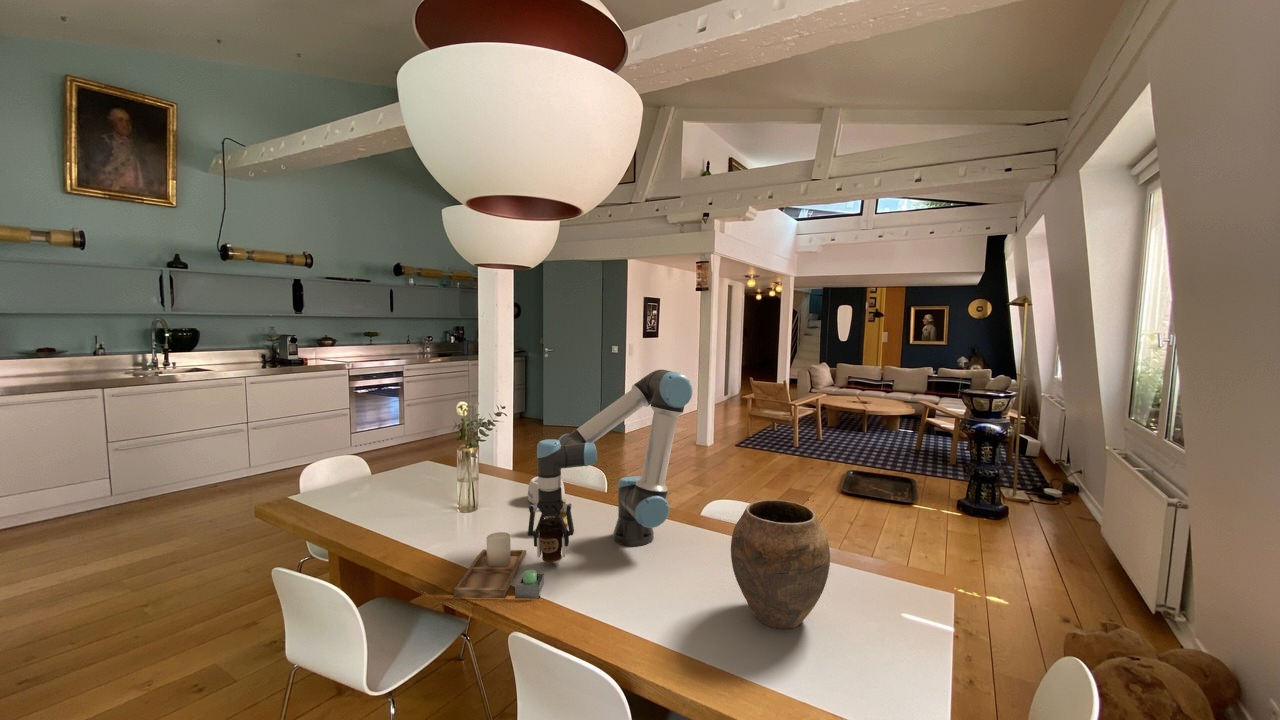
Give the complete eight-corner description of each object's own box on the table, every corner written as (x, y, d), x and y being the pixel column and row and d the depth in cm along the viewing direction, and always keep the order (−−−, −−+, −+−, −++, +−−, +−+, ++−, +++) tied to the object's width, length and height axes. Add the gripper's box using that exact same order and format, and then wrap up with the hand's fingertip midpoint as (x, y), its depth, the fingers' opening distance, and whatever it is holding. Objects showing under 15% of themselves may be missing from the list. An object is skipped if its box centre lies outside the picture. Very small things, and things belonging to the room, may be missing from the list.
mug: (525, 496, 241) (525, 475, 241) (561, 493, 246) (561, 472, 246) (530, 512, 221) (530, 489, 220) (569, 508, 226) (569, 486, 225)
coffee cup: (559, 566, 166) (558, 526, 165) (535, 564, 167) (533, 525, 166) (568, 554, 174) (567, 516, 173) (545, 552, 176) (544, 515, 175)
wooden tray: (526, 557, 178) (526, 550, 178) (505, 598, 151) (504, 590, 151) (482, 556, 178) (482, 549, 178) (453, 597, 151) (453, 589, 151)
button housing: (543, 586, 158) (543, 574, 158) (539, 598, 151) (539, 585, 151) (521, 586, 158) (520, 573, 158) (515, 598, 151) (515, 585, 151)
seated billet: (513, 558, 175) (512, 532, 174) (507, 568, 167) (506, 541, 167) (490, 558, 175) (490, 532, 174) (483, 568, 167) (483, 541, 167)
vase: (710, 616, 143) (712, 509, 141) (762, 583, 161) (764, 489, 159) (797, 660, 124) (800, 538, 122) (844, 617, 143) (848, 511, 141)
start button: (537, 585, 157) (537, 569, 156) (535, 592, 153) (535, 576, 152) (524, 585, 157) (524, 569, 156) (521, 592, 153) (521, 575, 152)
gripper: (582, 483, 172) (584, 550, 174) (521, 484, 173) (523, 550, 174) (579, 491, 165) (581, 560, 167) (515, 491, 165) (518, 561, 167)
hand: (551, 555), depth 171 cm, fingers closed on coffee cup, 7 cm apart
